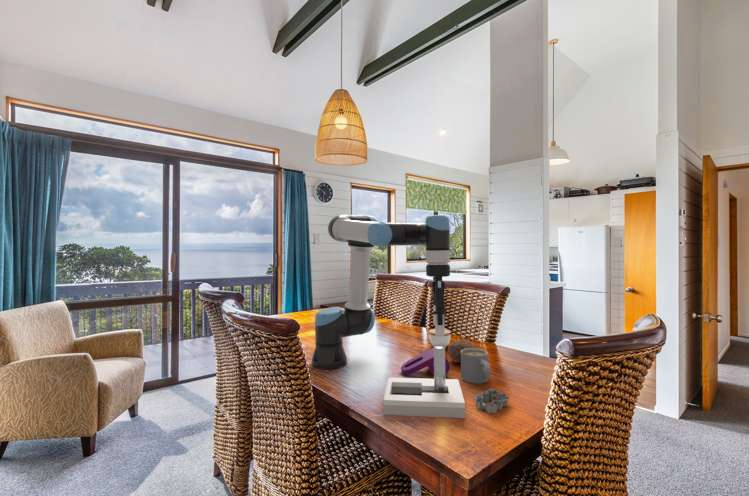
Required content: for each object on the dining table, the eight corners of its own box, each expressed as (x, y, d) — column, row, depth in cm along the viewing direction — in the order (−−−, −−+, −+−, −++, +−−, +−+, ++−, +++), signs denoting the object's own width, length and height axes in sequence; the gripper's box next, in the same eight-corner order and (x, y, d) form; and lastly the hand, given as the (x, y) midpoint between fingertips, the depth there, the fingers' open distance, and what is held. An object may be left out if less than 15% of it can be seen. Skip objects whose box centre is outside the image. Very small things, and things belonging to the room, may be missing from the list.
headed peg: (427, 408, 111) (427, 351, 110) (427, 397, 119) (426, 344, 118) (454, 409, 110) (453, 351, 110) (451, 398, 118) (450, 344, 117)
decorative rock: (468, 369, 145) (467, 344, 145) (443, 363, 152) (442, 340, 151) (480, 360, 155) (479, 337, 155) (456, 355, 162) (455, 333, 162)
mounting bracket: (411, 392, 137) (453, 371, 137) (401, 373, 137) (443, 352, 137) (408, 382, 147) (447, 363, 147) (399, 364, 146) (438, 344, 147)
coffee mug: (456, 374, 139) (456, 349, 139) (480, 372, 141) (480, 347, 141) (471, 388, 126) (471, 360, 126) (497, 385, 127) (497, 358, 127)
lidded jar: (426, 344, 181) (426, 325, 181) (447, 343, 182) (446, 324, 182) (432, 350, 170) (432, 331, 170) (454, 349, 172) (453, 330, 171)
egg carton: (492, 416, 106) (492, 402, 106) (471, 407, 112) (471, 394, 112) (512, 405, 113) (512, 392, 112) (491, 397, 119) (491, 385, 118)
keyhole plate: (383, 414, 107) (383, 399, 107) (388, 390, 125) (388, 377, 125) (465, 418, 104) (464, 402, 104) (458, 392, 122) (458, 379, 122)
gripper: (453, 266, 101) (454, 340, 101) (446, 261, 126) (447, 321, 126) (427, 266, 102) (427, 340, 102) (425, 261, 126) (426, 320, 127)
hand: (438, 329), depth 114 cm, fingers open, 13 cm apart
